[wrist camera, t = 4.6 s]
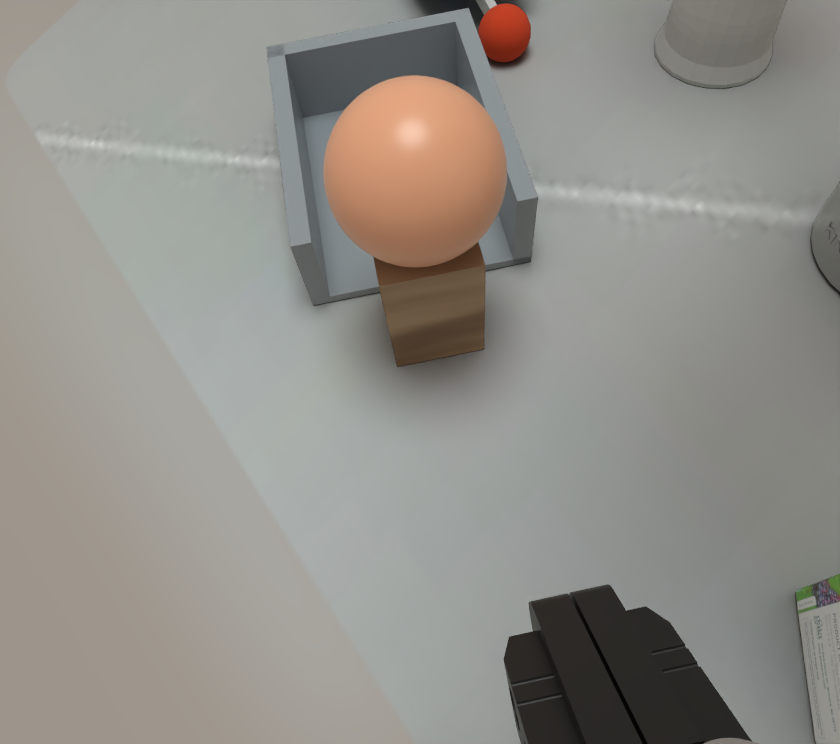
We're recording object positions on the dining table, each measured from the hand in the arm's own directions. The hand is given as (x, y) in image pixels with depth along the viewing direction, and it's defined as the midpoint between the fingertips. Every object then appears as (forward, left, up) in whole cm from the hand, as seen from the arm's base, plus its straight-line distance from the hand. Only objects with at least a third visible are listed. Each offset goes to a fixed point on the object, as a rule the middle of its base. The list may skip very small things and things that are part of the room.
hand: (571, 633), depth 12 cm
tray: (-5, -27, -16) cm, 32 cm away
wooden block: (-3, -17, -16) cm, 24 cm away
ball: (-3, -17, -6) cm, 18 cm away
